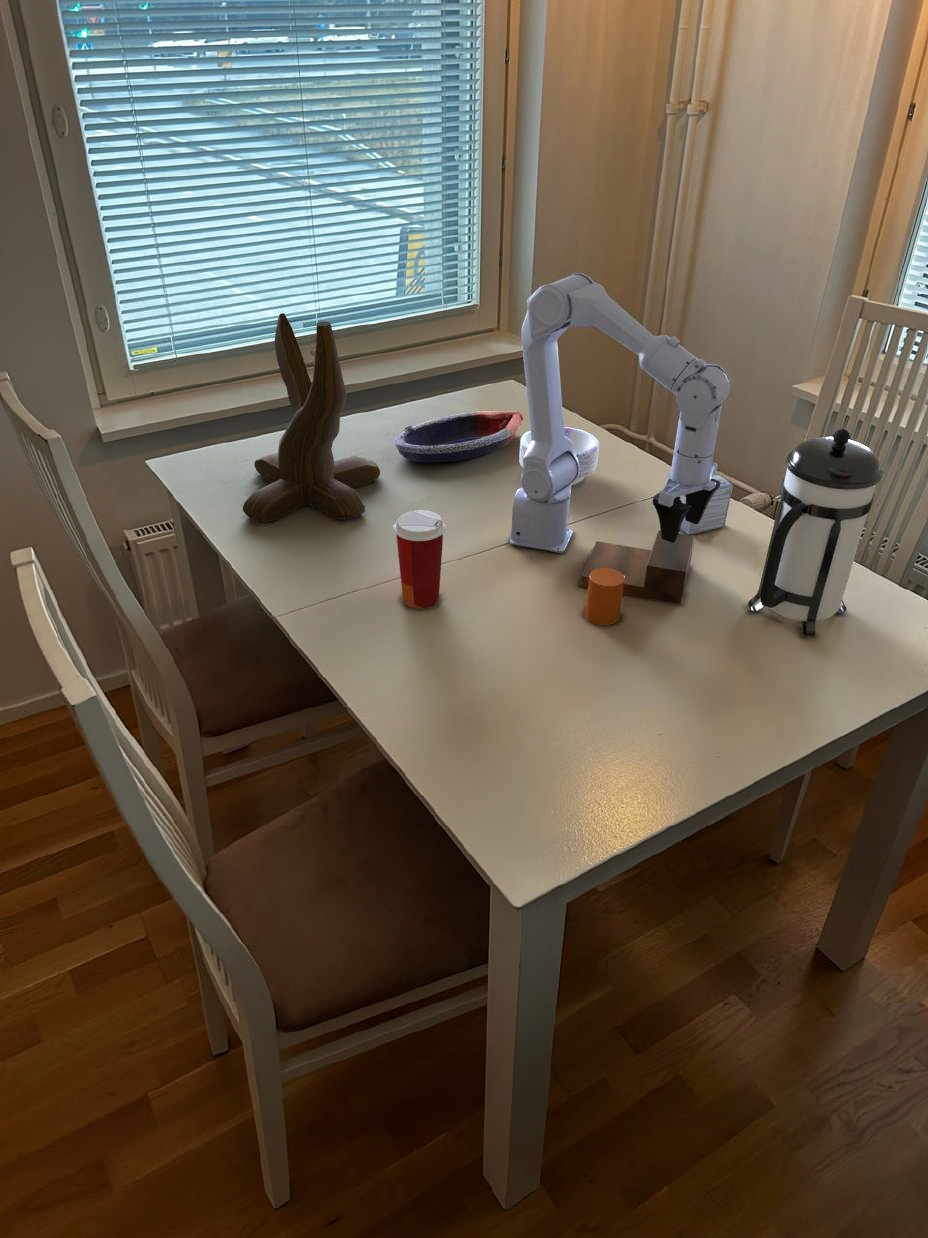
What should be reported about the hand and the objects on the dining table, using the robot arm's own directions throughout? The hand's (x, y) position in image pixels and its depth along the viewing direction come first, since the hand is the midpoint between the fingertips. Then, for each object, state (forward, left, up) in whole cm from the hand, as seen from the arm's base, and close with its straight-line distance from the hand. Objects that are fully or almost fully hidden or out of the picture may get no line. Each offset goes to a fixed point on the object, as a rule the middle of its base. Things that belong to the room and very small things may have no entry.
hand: (680, 530), depth 143 cm
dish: (-49, +39, -10) cm, 64 cm away
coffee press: (+19, -3, -10) cm, 22 cm away
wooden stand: (-69, +10, -10) cm, 71 cm away
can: (-9, -13, -10) cm, 18 cm away
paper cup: (-37, -18, -10) cm, 42 cm away
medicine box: (+2, +21, -10) cm, 24 cm away
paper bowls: (-27, +32, -10) cm, 43 cm away
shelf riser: (-6, 0, -10) cm, 11 cm away
